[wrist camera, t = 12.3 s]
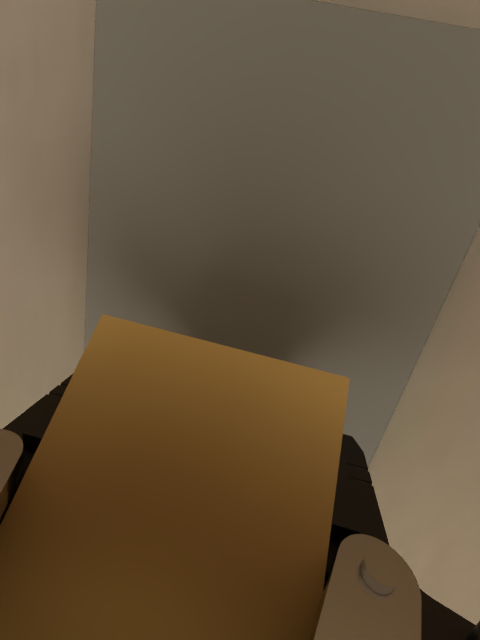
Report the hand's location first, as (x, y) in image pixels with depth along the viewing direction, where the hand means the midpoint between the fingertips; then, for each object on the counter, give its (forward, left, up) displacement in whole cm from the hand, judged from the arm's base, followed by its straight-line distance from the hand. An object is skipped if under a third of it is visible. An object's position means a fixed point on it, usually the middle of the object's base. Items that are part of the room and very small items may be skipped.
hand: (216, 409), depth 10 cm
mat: (-1, -1, -5) cm, 6 cm away
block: (+3, +3, -2) cm, 5 cm away
